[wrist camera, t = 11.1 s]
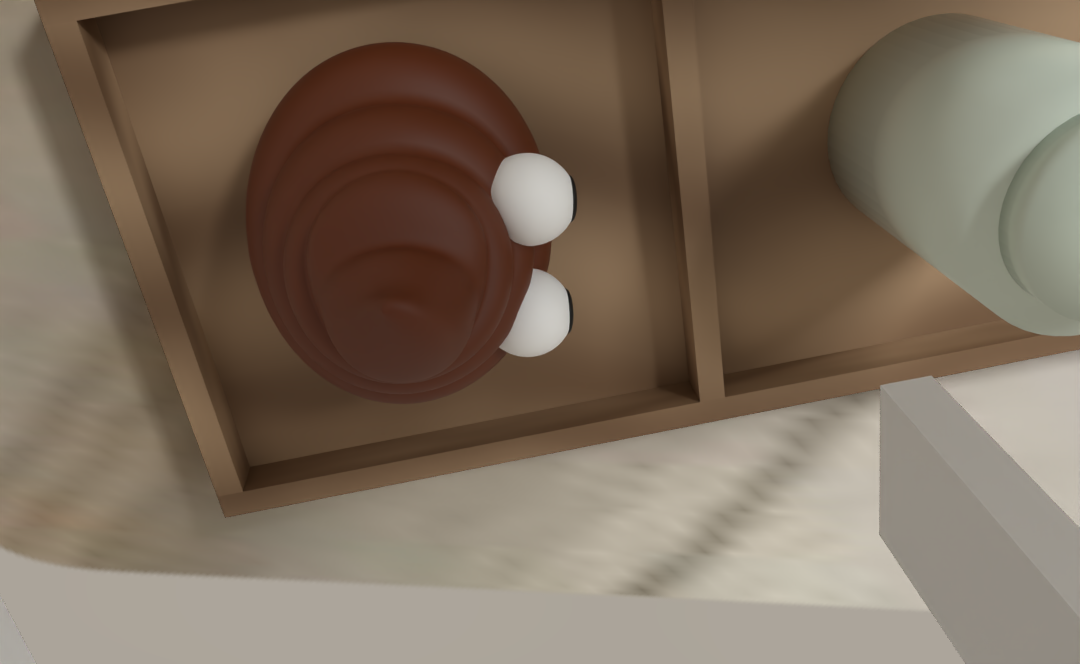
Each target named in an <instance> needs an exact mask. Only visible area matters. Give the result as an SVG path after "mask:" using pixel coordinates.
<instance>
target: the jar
mask: <svg viewBox="0 0 1080 664" xmlns="http://www.w3.org/2000/svg"><path fill="white" fill-rule="evenodd" d="M827 145H828V156H829V161H830V166H831V170H832V173H833V175H834V178H835V180H836V183H837V184H838V186H839V188H840V190H841V191H842V193H843V194H844V195H845V197H846V198H847V199H848V200H849V202H850V203H851V204H853V205H854V206H855V207H856V208H857V209H858V210H859V211H861V212H862V213H863V214H865V215H866V216H867V217H868V218H870V219H871V220H872V221H874V222H875V223H876V224H878V225H879V226H880V227H882V228H883V229H884V230H886V231H887V232H888V233H890V234H891V235H892V236H893V237H895V238H896V239H897V240H899V241H900V242H901V243H903V244H904V245H905V246H907V247H908V248H909V249H911V250H912V251H913V252H915V253H916V254H917V255H919V256H920V257H921V258H922V259H924V260H925V261H926V262H928V263H929V264H930V265H932V266H933V267H934V268H936V269H937V270H938V271H940V272H941V273H942V274H944V275H945V276H946V277H948V278H949V279H950V280H951V281H953V282H954V283H955V284H957V285H958V286H959V287H961V288H962V289H963V290H965V291H966V292H967V293H969V294H970V295H971V296H973V297H974V298H975V299H976V300H978V301H979V302H980V303H982V304H983V305H984V306H986V307H987V308H988V309H990V310H991V311H992V312H994V313H995V314H996V315H998V316H999V317H1000V318H1002V319H1003V320H1005V321H1007V322H1008V323H1010V324H1011V325H1014V326H1016V327H1018V328H1020V329H1023V330H1025V331H1029V332H1033V333H1036V334H1041V335H1049V336H1075V335H1080V42H1076V41H1072V40H1068V39H1064V38H1060V37H1056V36H1052V35H1048V34H1044V33H1040V32H1036V31H1032V30H1028V29H1025V28H1021V27H1017V26H1013V25H1009V24H1005V23H1001V22H997V21H993V20H989V19H985V18H981V17H977V16H973V15H967V14H961V13H945V14H936V15H931V16H927V17H923V18H919V19H917V20H914V21H912V22H909V23H906V24H904V25H903V26H901V27H899V28H897V29H895V30H893V31H892V32H890V33H889V34H887V35H886V36H885V37H883V38H882V39H880V40H879V41H878V42H877V43H876V44H874V45H873V46H872V47H871V48H870V49H869V50H868V51H867V52H866V53H865V54H864V55H863V56H862V57H861V58H860V60H859V61H858V62H857V63H856V64H855V66H854V67H853V69H852V70H851V71H850V73H849V74H848V76H847V77H846V79H845V81H844V83H843V85H842V86H841V88H840V90H839V93H838V95H837V97H836V100H835V102H834V106H833V109H832V112H831V116H830V121H829V127H828V142H827Z"/></svg>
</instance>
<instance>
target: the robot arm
mask: <svg viewBox="0 0 1080 664" xmlns="http://www.w3.org/2000/svg"><path fill="white" fill-rule="evenodd" d="M879 535H880V536H881V538H882V539H883V541H884V542H885V544H886V545H887V547H888V548H889V550H890V551H891V553H892V554H893V556H894V557H895V559H896V560H897V562H898V563H899V565H900V566H901V568H902V569H903V571H904V572H905V574H906V575H907V577H908V578H909V580H910V581H911V583H912V584H913V586H914V587H915V589H916V590H917V592H918V593H919V595H920V596H921V598H922V599H923V601H924V602H925V604H926V605H927V607H928V608H929V610H930V611H931V613H932V614H933V616H934V617H935V619H936V620H937V622H938V623H939V625H940V626H941V628H942V629H943V631H944V632H945V634H946V635H947V637H948V638H949V640H950V641H951V642H952V644H953V646H954V647H955V649H956V650H957V652H958V653H959V655H960V656H961V658H962V659H963V661H964V662H965V664H1080V528H1079V527H1078V526H1077V525H1076V524H1075V523H1074V521H1073V520H1072V519H1071V518H1070V517H1069V516H1068V515H1067V514H1066V513H1065V512H1064V511H1063V510H1062V509H1061V508H1060V507H1059V506H1058V505H1057V504H1056V503H1055V502H1054V501H1053V500H1052V499H1051V498H1050V497H1049V496H1048V495H1047V494H1046V493H1045V492H1044V491H1043V490H1042V489H1041V488H1040V487H1039V485H1038V484H1037V483H1036V482H1035V481H1034V480H1033V479H1032V478H1031V477H1030V476H1029V475H1028V474H1027V473H1026V472H1025V471H1024V470H1023V469H1022V468H1021V467H1020V466H1019V465H1018V464H1017V463H1016V462H1015V461H1014V460H1013V459H1012V458H1011V457H1010V456H1009V455H1008V454H1007V453H1006V452H1005V451H1004V450H1003V448H1002V447H1001V446H1000V445H999V444H998V443H997V442H996V441H995V440H994V439H993V438H992V437H991V436H990V435H989V434H988V433H987V432H986V431H985V430H984V429H983V428H982V427H981V426H980V425H979V424H978V423H977V422H976V421H975V420H974V419H973V418H972V417H971V416H970V415H969V414H968V412H967V411H966V410H965V409H964V408H963V407H962V406H961V405H960V404H959V403H958V402H957V401H956V400H955V399H954V398H953V397H952V396H951V395H950V394H949V393H948V392H947V391H946V390H945V389H944V388H943V387H942V386H941V385H940V384H939V383H938V382H937V381H936V380H935V379H934V378H933V377H932V376H926V377H921V378H916V379H911V380H905V381H900V382H895V383H889V384H884V385H880V508H879ZM0 664H36V662H35V660H34V658H33V656H32V654H31V652H30V651H29V649H28V647H27V645H26V643H25V641H24V639H23V637H22V636H21V634H20V632H19V630H18V628H17V626H16V624H15V623H14V620H13V619H12V617H11V615H10V613H9V611H8V609H7V607H6V605H5V603H4V602H3V600H2V598H1V596H0Z"/></svg>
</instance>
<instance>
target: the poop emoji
mask: <svg viewBox="0 0 1080 664" xmlns="http://www.w3.org/2000/svg"><path fill="white" fill-rule="evenodd" d="M576 211H577V191H576V185H575V182H574V180H573V178H572V176H571V175H568V173H567V172H566V171H565V169H564V168H563V167H562V166H560V165H559V164H558V163H557V162H555V161H554V160H552V159H550V158H548V157H546V156H543V155H540V152H539V150H538V147H537V145H536V142H535V140H534V138H533V136H532V133H531V131H530V130H529V128H528V126H527V124H526V122H525V120H524V119H523V117H522V115H521V114H520V112H519V111H518V109H517V108H516V107H515V105H514V104H513V103H512V101H511V100H510V99H509V97H508V96H507V95H506V94H505V93H504V92H503V90H502V89H501V88H500V87H499V86H498V85H497V84H496V83H495V82H494V81H492V80H491V79H490V78H489V77H488V76H487V75H486V74H484V73H483V72H482V71H480V70H479V69H478V68H476V67H475V66H473V65H472V64H470V63H468V62H467V61H465V60H463V59H461V58H459V57H457V56H455V55H453V54H451V53H448V52H446V51H443V50H440V49H437V48H434V47H430V46H426V45H421V44H415V43H406V42H383V43H374V44H368V45H363V46H359V47H355V48H352V49H349V50H346V51H344V52H341V53H339V54H337V55H335V56H333V57H331V58H329V59H327V60H325V61H323V62H322V63H320V64H319V65H317V66H316V67H314V68H313V69H312V70H310V71H309V72H308V73H306V74H305V75H304V76H303V77H302V78H301V79H300V80H299V81H298V82H296V83H295V85H294V86H293V87H292V88H291V89H290V90H289V91H288V92H287V94H286V95H285V96H284V97H283V99H282V100H281V101H280V103H279V104H278V106H277V107H276V109H275V110H274V112H273V114H272V115H271V117H270V119H269V121H268V122H267V124H266V126H265V128H264V131H263V133H262V135H261V137H260V140H259V143H258V145H257V148H256V151H255V154H254V158H253V161H252V165H251V170H250V174H249V180H248V186H247V195H246V233H247V242H248V250H249V257H250V262H251V266H252V270H253V273H254V276H255V280H256V282H257V285H258V288H259V291H260V294H261V296H262V299H263V301H264V304H265V306H266V308H267V310H268V312H269V314H270V316H271V318H272V320H273V322H274V324H275V325H276V327H277V328H278V330H279V332H280V333H281V335H282V336H283V338H284V339H285V340H286V342H287V343H288V344H289V346H290V347H291V348H292V349H293V351H294V352H295V353H296V354H297V355H298V356H299V357H300V358H301V359H302V360H303V361H304V362H305V363H306V364H307V365H308V366H309V367H310V368H311V369H312V370H313V371H315V372H316V373H317V374H318V375H320V376H321V377H322V378H324V379H325V380H327V381H328V382H330V383H331V384H333V385H335V386H337V387H338V388H340V389H342V390H344V391H346V392H349V393H351V394H353V395H356V396H359V397H362V398H365V399H368V400H372V401H377V402H383V403H391V404H413V403H422V402H427V401H432V400H436V399H439V398H442V397H445V396H448V395H451V394H453V393H455V392H458V391H460V390H462V389H464V388H465V387H467V386H469V385H471V384H472V383H474V382H475V381H477V380H478V379H480V378H481V377H482V376H484V375H485V374H486V373H487V372H489V371H490V370H491V369H492V368H493V367H494V366H495V365H496V364H497V363H498V362H499V361H500V360H501V359H502V358H503V357H504V356H505V355H506V354H507V353H510V354H513V355H516V356H521V357H534V356H539V355H543V354H545V353H548V352H550V351H551V350H553V349H554V348H556V347H557V346H558V345H559V344H560V343H561V342H562V341H563V340H564V338H565V337H566V335H567V334H568V333H570V332H571V329H572V326H573V318H574V312H573V302H572V298H571V295H570V292H569V290H568V289H566V288H564V286H563V285H562V284H561V283H560V282H559V281H558V280H557V279H556V278H555V277H553V276H552V275H550V274H549V273H547V270H548V266H549V261H550V255H551V243H552V240H553V239H555V238H556V237H558V236H559V235H560V234H561V233H562V232H563V231H564V230H565V229H566V228H567V227H568V225H569V224H570V222H572V221H573V220H574V219H575V216H576Z"/></svg>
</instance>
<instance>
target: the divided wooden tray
mask: <svg viewBox="0 0 1080 664" xmlns="http://www.w3.org/2000/svg"><path fill="white" fill-rule="evenodd" d="M34 2H35V4H36V7H37V10H38V12H39V15H40V18H41V20H42V23H43V26H44V29H45V31H46V34H47V37H48V39H49V42H50V45H51V48H52V50H53V53H54V56H55V58H56V61H57V64H58V67H59V69H60V72H61V75H62V77H63V80H64V83H65V85H66V88H67V91H68V94H69V96H70V99H71V102H72V104H73V107H74V110H75V113H76V115H77V118H78V121H79V123H80V126H81V129H82V132H83V134H84V137H85V140H86V142H87V145H88V148H89V150H90V153H91V156H92V159H93V161H94V164H95V167H96V169H97V172H98V175H99V178H100V180H101V183H102V186H103V188H104V191H105V194H106V197H107V199H108V202H109V205H110V207H111V210H112V213H113V215H114V218H115V221H116V224H117V226H118V229H119V232H120V234H121V237H122V240H123V243H124V245H125V248H126V251H127V253H128V256H129V259H130V262H131V264H132V267H133V270H134V272H135V275H136V278H137V280H138V283H139V286H140V289H141V291H142V294H143V297H144V299H145V302H146V305H147V308H148V310H149V313H150V316H151V318H152V321H153V324H154V327H155V329H156V332H157V335H158V337H159V340H160V343H161V345H162V348H163V351H164V354H165V356H166V359H167V362H168V364H169V367H170V370H171V373H172V375H173V378H174V381H175V383H176V386H177V389H178V392H179V394H180V397H181V400H182V402H183V405H184V408H185V410H186V413H187V416H188V419H189V421H190V424H191V427H192V429H193V432H194V435H195V438H196V440H197V443H198V446H199V448H200V451H201V454H202V457H203V459H204V462H205V465H206V467H207V470H208V473H209V475H210V478H211V481H212V484H213V486H214V489H215V492H216V494H217V497H218V500H219V503H220V505H221V508H222V511H223V513H224V516H225V518H226V517H231V516H236V515H241V514H246V513H251V512H256V511H261V510H266V509H271V508H276V507H281V506H286V505H292V504H297V503H302V502H307V501H312V500H317V499H322V498H327V497H332V496H337V495H342V494H347V493H353V492H358V491H363V490H368V489H373V488H378V487H383V486H388V485H393V484H398V483H403V482H408V481H413V480H419V479H424V478H429V477H434V476H439V475H444V474H449V473H454V472H459V471H464V470H469V469H474V468H479V467H485V466H490V465H495V464H500V463H505V462H510V461H515V460H520V459H525V458H530V457H535V456H540V455H545V454H551V453H556V452H561V451H566V450H571V449H576V448H581V447H586V446H591V445H596V444H601V443H606V442H611V441H617V440H622V439H627V438H632V437H637V436H642V435H647V434H652V433H657V432H662V431H667V430H672V429H677V428H683V427H688V426H693V425H698V424H703V423H708V422H713V421H718V420H723V419H728V418H733V417H738V416H743V415H749V414H754V413H759V412H764V411H769V410H774V409H779V408H784V407H789V406H794V405H799V404H804V403H809V402H815V401H820V400H825V399H830V398H835V397H840V396H845V395H850V394H855V393H860V392H865V391H870V390H875V389H880V385H884V384H889V383H895V382H900V381H905V380H911V379H916V378H921V377H926V376H932V377H933V378H936V377H942V376H947V375H952V374H957V373H962V372H967V371H972V370H977V369H982V368H987V367H992V366H997V365H1002V364H1008V363H1013V362H1018V361H1023V360H1028V359H1033V358H1038V357H1043V356H1048V355H1053V354H1058V353H1063V352H1068V351H1074V350H1079V349H1080V335H1075V336H1049V335H1041V334H1036V333H1033V332H1029V331H1025V330H1023V329H1020V328H1018V327H1016V326H1014V325H1011V324H1010V323H1008V322H1007V321H1005V320H1003V319H1002V318H1000V317H999V316H998V315H996V314H995V313H994V312H992V311H991V310H990V309H988V308H987V307H986V306H984V305H983V304H982V303H980V302H979V301H978V300H976V299H975V298H974V297H973V296H971V295H970V294H969V293H967V292H966V291H965V290H963V289H962V288H961V287H959V286H958V285H957V284H955V283H954V282H953V281H951V280H950V279H949V278H948V277H946V276H945V275H944V274H942V273H941V272H940V271H938V270H937V269H936V268H934V267H933V266H932V265H930V264H929V263H928V262H926V261H925V260H924V259H922V258H921V257H920V256H919V255H917V254H916V253H915V252H913V251H912V250H911V249H909V248H908V247H907V246H905V245H904V244H903V243H901V242H900V241H899V240H897V239H896V238H895V237H893V236H892V235H891V234H890V233H888V232H887V231H886V230H884V229H883V228H882V227H880V226H879V225H878V224H876V223H875V222H874V221H872V220H871V219H870V218H868V217H867V216H866V215H865V214H863V213H862V212H861V211H859V210H858V209H857V208H856V207H855V206H854V205H853V204H851V203H850V202H849V200H848V199H847V198H846V197H845V195H844V194H843V193H842V191H841V190H840V188H839V186H838V184H837V183H836V180H835V178H834V175H833V173H832V170H831V166H830V161H829V156H828V145H827V142H828V127H829V121H830V116H831V112H832V109H833V106H834V102H835V100H836V97H837V95H838V93H839V90H840V88H841V86H842V85H843V83H844V81H845V79H846V77H847V76H848V74H849V73H850V71H851V70H852V69H853V67H854V66H855V64H856V63H857V62H858V61H859V60H860V58H861V57H862V56H863V55H864V54H865V53H866V52H867V51H868V50H869V49H870V48H871V47H872V46H873V45H874V44H876V43H877V42H878V41H879V40H880V39H882V38H883V37H885V36H886V35H887V34H889V33H890V32H892V31H893V30H895V29H897V28H899V27H901V26H903V25H904V24H906V23H909V22H912V21H914V20H917V19H919V18H923V17H927V16H931V15H936V14H945V13H961V14H967V15H973V16H977V17H981V18H985V19H989V20H993V21H997V22H1001V23H1005V24H1009V25H1013V26H1017V27H1021V28H1025V29H1028V30H1032V31H1036V32H1040V33H1044V34H1048V35H1052V36H1056V37H1060V38H1064V39H1068V40H1072V41H1076V42H1080V0H34ZM383 42H406V43H415V44H421V45H426V46H430V47H434V48H437V49H440V50H443V51H446V52H448V53H451V54H453V55H455V56H457V57H459V58H461V59H463V60H465V61H467V62H468V63H470V64H472V65H473V66H475V67H476V68H478V69H479V70H480V71H482V72H483V73H484V74H486V75H487V76H488V77H489V78H490V79H491V80H492V81H494V82H495V83H496V84H497V85H498V86H499V87H500V88H501V89H502V90H503V92H504V93H505V94H506V95H507V96H508V97H509V99H510V100H511V101H512V103H513V104H514V105H515V107H516V108H517V109H518V111H519V112H520V114H521V115H522V117H523V119H524V120H525V122H526V124H527V126H528V128H529V130H530V131H531V133H532V136H533V138H534V140H535V142H536V145H537V147H538V150H539V152H540V155H543V156H546V157H548V158H550V159H552V160H554V161H555V162H557V163H558V164H559V165H560V166H562V167H563V168H564V169H565V171H566V172H567V173H568V175H571V176H572V178H573V180H574V182H575V185H576V191H577V211H576V216H575V219H574V220H573V221H572V222H570V224H569V225H568V227H567V228H566V229H565V230H564V231H563V232H562V233H561V234H560V235H559V236H558V237H556V238H555V239H553V240H552V243H551V255H550V261H549V266H548V270H547V273H549V274H550V275H552V276H553V277H555V278H556V279H557V280H558V281H559V282H560V283H561V284H562V285H563V286H564V288H566V289H568V290H569V292H570V295H571V298H572V302H573V312H574V318H573V326H572V329H571V332H570V333H568V334H567V335H566V337H565V338H564V340H563V341H562V342H561V343H560V344H559V345H558V346H557V347H556V348H554V349H553V350H551V351H550V352H548V353H545V354H543V355H539V356H534V357H521V356H516V355H513V354H510V353H507V354H506V355H505V356H504V357H503V358H502V359H501V360H500V361H499V362H498V363H497V364H496V365H495V366H494V367H493V368H492V369H491V370H490V371H489V372H487V373H486V374H485V375H484V376H482V377H481V378H480V379H478V380H477V381H475V382H474V383H472V384H471V385H469V386H467V387H465V388H464V389H462V390H460V391H458V392H455V393H453V394H451V395H448V396H445V397H442V398H439V399H436V400H432V401H427V402H422V403H413V404H391V403H383V402H377V401H372V400H368V399H365V398H362V397H359V396H356V395H353V394H351V393H349V392H346V391H344V390H342V389H340V388H338V387H337V386H335V385H333V384H331V383H330V382H328V381H327V380H325V379H324V378H322V377H321V376H320V375H318V374H317V373H316V372H315V371H313V370H312V369H311V368H310V367H309V366H308V365H307V364H306V363H305V362H304V361H303V360H302V359H301V358H300V357H299V356H298V355H297V354H296V353H295V352H294V351H293V349H292V348H291V347H290V346H289V344H288V343H287V342H286V340H285V339H284V338H283V336H282V335H281V333H280V332H279V330H278V328H277V327H276V325H275V324H274V322H273V320H272V318H271V316H270V314H269V312H268V310H267V308H266V306H265V304H264V301H263V299H262V296H261V294H260V291H259V288H258V285H257V282H256V280H255V276H254V273H253V270H252V266H251V262H250V257H249V250H248V242H247V233H246V195H247V186H248V180H249V174H250V170H251V165H252V161H253V158H254V154H255V151H256V148H257V145H258V143H259V140H260V137H261V135H262V133H263V131H264V128H265V126H266V124H267V122H268V121H269V119H270V117H271V115H272V114H273V112H274V110H275V109H276V107H277V106H278V104H279V103H280V101H281V100H282V99H283V97H284V96H285V95H286V94H287V92H288V91H289V90H290V89H291V88H292V87H293V86H294V85H295V83H296V82H298V81H299V80H300V79H301V78H302V77H303V76H304V75H305V74H306V73H308V72H309V71H310V70H312V69H313V68H314V67H316V66H317V65H319V64H320V63H322V62H323V61H325V60H327V59H329V58H331V57H333V56H335V55H337V54H339V53H341V52H344V51H346V50H349V49H352V48H355V47H359V46H363V45H368V44H374V43H383Z"/></svg>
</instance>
